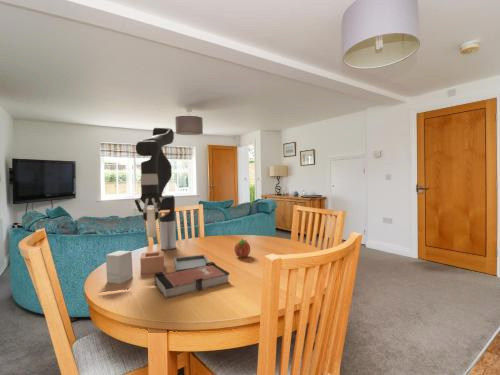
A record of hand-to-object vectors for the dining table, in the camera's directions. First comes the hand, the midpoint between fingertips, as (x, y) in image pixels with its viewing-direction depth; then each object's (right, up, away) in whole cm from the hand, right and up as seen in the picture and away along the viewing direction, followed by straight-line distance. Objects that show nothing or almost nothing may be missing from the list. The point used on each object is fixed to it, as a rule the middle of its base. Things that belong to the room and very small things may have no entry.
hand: (151, 220), depth 128 cm
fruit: (+43, -23, +21) cm, 53 cm away
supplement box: (-9, -25, -12) cm, 29 cm away
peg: (0, -8, 0) cm, 8 cm away
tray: (+18, -24, +6) cm, 30 cm away
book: (+23, -25, -15) cm, 37 cm away
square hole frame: (+1, -24, +1) cm, 24 cm away
